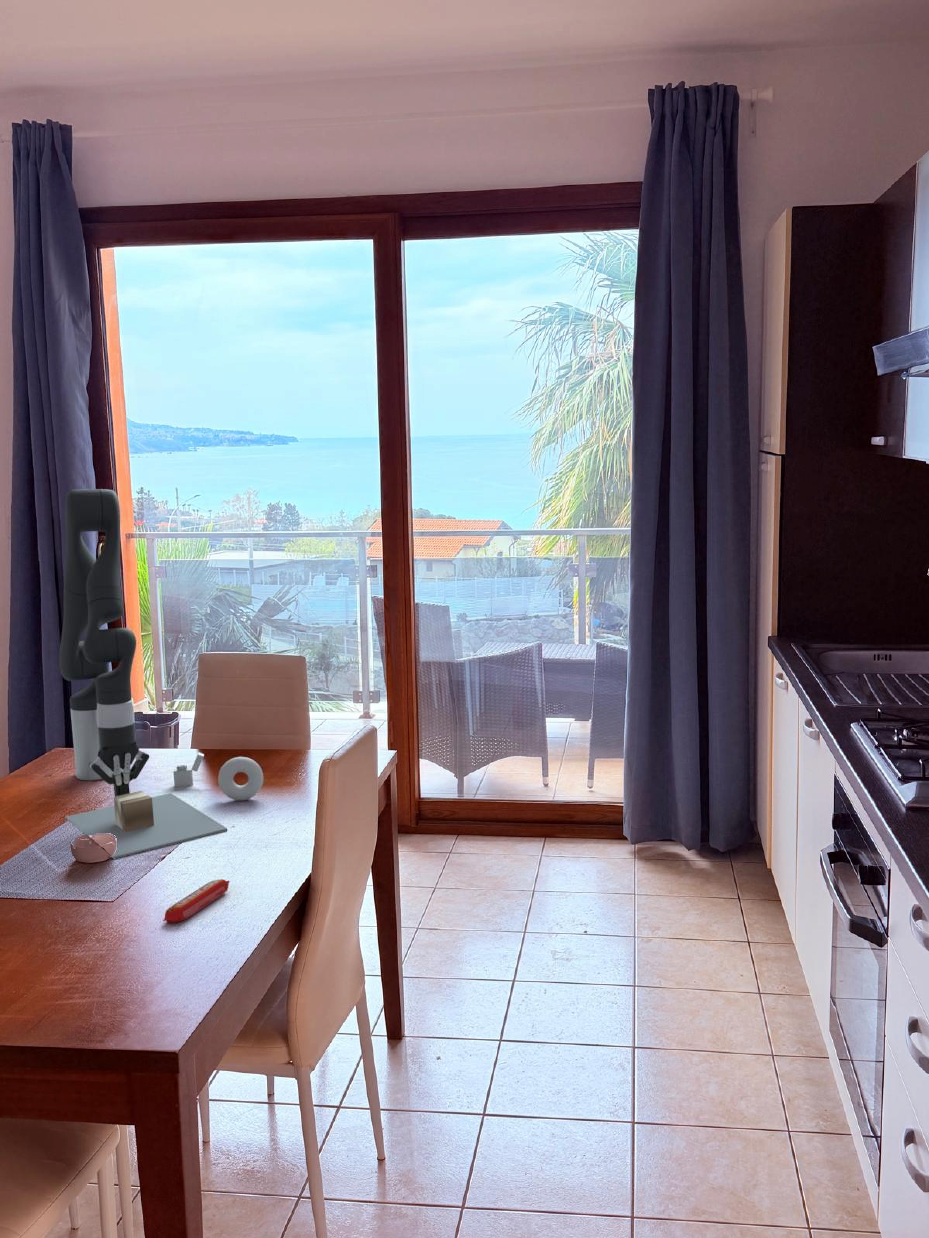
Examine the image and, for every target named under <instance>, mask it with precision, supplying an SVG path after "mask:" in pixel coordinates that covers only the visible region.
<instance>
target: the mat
mask: <svg viewBox="0 0 929 1238" xmlns="http://www.w3.org/2000/svg"><path fill="white" fill-rule="evenodd" d="M151 797H152V804H153V817H154V825H153V826H148V827H144V828H140V829H136V830H132V831H127V832H126V831H124V830H123V829H122V828H120V827H119V826H118V825H116V820H115V808H114V805H112V806H107V807H102V808H98V809H94V810H90V811H85V812H81V813H77V814H76V813H75V814H72V815H67V816H64V818H65V819H66V820H67V821H68V822H69V823H71V824H72V825H73V826H75V827H76V828H77V829H78V830H79V831H80V832H82V834H84V836H87V835H94V834H96V833H111V834H113V835H115V836H116V838H117V850H116V852H115V854H114V855H113V859H112V860H116V858H117V859H120V858H119V857H121V858H125V857H128V856H127V855H129V856H132V854H133V855H136V854H135V853H137V854H139V853H138V852H141V853H143V852H142V851H145V852H147V851H146V850H149V849H153V850H156V849H160V848H164V847H167V846H166V845H168V846H172V845H176V844H180V843H183V842H188V841H191V840H195V839H201V838H204V837H208V836H211V835H215V834H219V833H224V832H227V831H228V828H227V827H226V826H224V825H222V824H221V823H219V822H218V821H217V820H214V819H213V818H211V817H210V816H208V815H206V814H205V813H204V812H203V811H200V810H198V809H197V808H195V807H194V806H192V805H191V804H189V803H187V802H186V801H184V800H183V799H181V798H179V797H177V795H174V794H173V793H171V792H170V793H166V794H161V795H156V796H151ZM179 842H180V843H179ZM163 846H164V847H163ZM149 851H150V850H149ZM124 856H125V857H124ZM114 858H115V859H114Z"/></svg>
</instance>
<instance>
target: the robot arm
mask: <svg viewBox="0 0 929 1238" xmlns="http://www.w3.org/2000/svg"><path fill="white" fill-rule="evenodd" d="M64 502H65V503H64V519H65V521H64V522H65V524H64V525H65V563H64V564H65V565H64V575H63V576H64V578H63V620H62V621H63V623H62V631H61V638H60V639H61V640H60V647H59V659H58V660H59V661H58V662H59V670H60V671H59V672H60V674H61V676H62V677H63V679H64V680H66V681H68V682H69V681H70V682H72V681H73V682H77V681H83V680H92V681H91V682H90V683H89V685H87V686H86V687H85V688H83V689H82V690H79V691H78V692H75V693H73V694H72V695H71V696H70V698H69V707H70V708H69V709H70V718H71V719H70V720H71V731H72V743H73V751H74V764H75V765H74V767H75V776H76V778H77V779H78V780H81V781H97V780H103V781H104V782H106V783H107V784H108V785H112V786H113V794H114V795H113V796H114V797H115V796H120V795H124V794H129V793H131V792H130V783H131V781H133V780H137V778H138V777H139V775H140V773H142V771H143V769H144V767H145V765H146V763H147V762H148V761H149V759H150V755H149V754H148V753H146V752H144V751H141V750H140V747H139V746H138V744H137V735H136V723H135V721H136V720H135V719H136V716H135V709H134V705H133V698H132V687H131V684H132V683H131V673H132V669H133V668H132V667H133V662H134V658H135V653H136V649H137V639H136V635H135V634H134V632H133V631H132V629H129V628H127V627H116V628H106V629H101V628H102V626H104V625H105V624H109V623H112V622H114V621H117V620H119V619H120V618H121V619H122V617H123V615H124V604H123V595H122V586H121V571H120V569H121V567H120V566H121V565H120V564H121V508H120V501H119V498H118V494H117V493H116V492H115V491H114V490H113V489H107V488H104V489H103V488H98V489H97V488H75V489H70V490H69V491H68V492H67V494H66V498H65V501H64ZM84 532H104V533H105V538H104V542H103V547H102V549H101V551H100V553H99V555H98V556H97V558H95V556H94V555H93V554H92V552H91V551H90V549H89V548H88V546H87V545H86V543H85V540H84V539H83V537H82V533H84ZM84 632H85V635H84V638H83V640H81V638H82V636H83V634H84ZM118 662H119V664H118V666H117V667H116V668H114V669H113V670H110V665H109V664H110V663H118ZM134 760H135V761H134ZM133 762H134V763H133ZM132 764H133V765H132ZM131 765H132V766H131Z"/></svg>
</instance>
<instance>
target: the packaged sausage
mask: <svg viewBox="0 0 929 1238" xmlns="http://www.w3.org/2000/svg"><path fill="white" fill-rule="evenodd" d="M229 884H230V880H225V879H214V880H212V881H211V880H210V881H208V882H207V883H206V884H204V885H202V886H201V887H199V888H198V889H196V890H194V891H193V892H191V893H190V894H188V895H186V896H185V897H184V898H181V899H180V900H179V901H177V902H176V903H174V904H173V905H171V906H170V907H168V908H167V909H166V911H165V914H164V918H163V921H162V922H167V923H169V924H171V923H179V922H182V921H184V920H186V919H188V918H190V917H191V916H192V915H194V914H195V913H197V912H198V911H200V910H202V909H203V908H205V907H207V905H209V904H211V903H212V902H213V901H215V900H217V899H219V898H220V897H221V896H222V895H223V894H225V893H226V892H227V891H228V889H229Z"/></svg>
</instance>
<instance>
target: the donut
mask: <svg viewBox="0 0 929 1238" xmlns="http://www.w3.org/2000/svg"><path fill="white" fill-rule="evenodd" d="M237 773H244V774H246V775H247V778H248V780H247V782H246V783H245V784H243V785H239V784H237V783H236V782H235V780H234V777H235V775H236V774H237ZM217 782H218V787H219V788H220V790H221V792H222V794H224V795H225V796H226V797H227V798H229V799H231V800H234V801H241V802H242V801H247V800H250V799H252V798H254V797H255V796H256V795H257V794H258V793H259V792H260V791H261V788H262V786H263V785H264V773H263V770H262V768H261V766H260V765H259V764H258V763H257V762H256V761H255V760H254V759H251V758H249V757H246V756H245V757H244V756H237V757H233V758H232V757H231V759H229V760H227V761H226V762H225V763H224V764H223V765H222V766H221V767H220V770H219V772H218V779H217Z"/></svg>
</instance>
